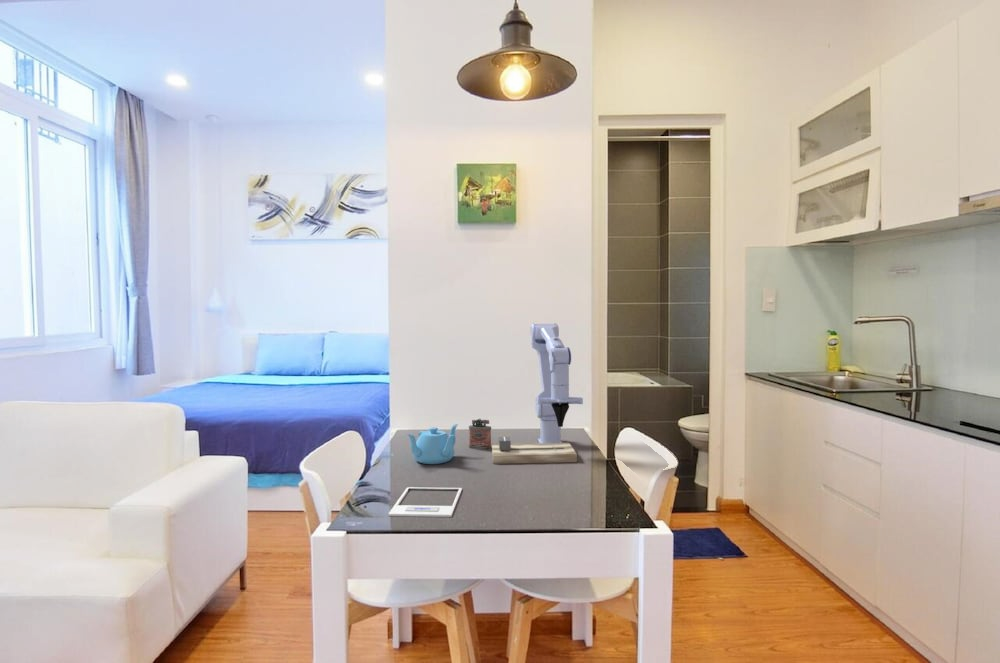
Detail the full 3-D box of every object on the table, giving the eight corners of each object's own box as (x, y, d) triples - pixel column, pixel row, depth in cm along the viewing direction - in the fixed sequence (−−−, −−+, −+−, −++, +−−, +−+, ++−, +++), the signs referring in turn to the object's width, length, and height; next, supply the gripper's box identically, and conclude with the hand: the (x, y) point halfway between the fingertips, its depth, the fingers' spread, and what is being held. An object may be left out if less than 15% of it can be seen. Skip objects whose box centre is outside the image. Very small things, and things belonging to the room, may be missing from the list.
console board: (492, 451, 172) (492, 443, 172) (569, 450, 173) (569, 442, 173) (493, 463, 158) (493, 455, 158) (576, 462, 159) (576, 453, 159)
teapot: (416, 453, 171) (415, 422, 170) (461, 453, 170) (460, 422, 170) (406, 466, 156) (406, 433, 156) (455, 466, 156) (455, 433, 155)
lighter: (467, 448, 176) (467, 419, 176) (470, 446, 180) (470, 417, 179) (489, 450, 174) (489, 420, 174) (492, 447, 177) (492, 418, 177)
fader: (498, 446, 168) (498, 436, 167) (509, 446, 168) (509, 436, 168) (499, 450, 162) (499, 440, 162) (510, 450, 163) (510, 440, 162)
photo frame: (388, 513, 118) (407, 486, 136) (388, 517, 118) (407, 490, 136) (451, 513, 117) (461, 487, 135) (451, 518, 117) (462, 491, 135)
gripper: (538, 386, 163) (539, 429, 163) (584, 386, 163) (584, 428, 163) (536, 383, 170) (537, 424, 170) (580, 383, 170) (580, 423, 170)
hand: (560, 426), depth 167 cm, fingers closed
